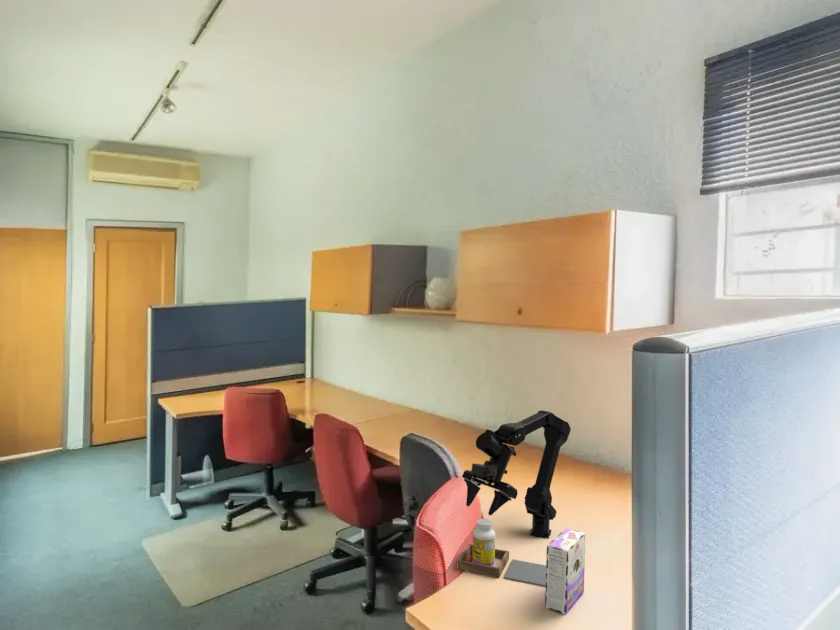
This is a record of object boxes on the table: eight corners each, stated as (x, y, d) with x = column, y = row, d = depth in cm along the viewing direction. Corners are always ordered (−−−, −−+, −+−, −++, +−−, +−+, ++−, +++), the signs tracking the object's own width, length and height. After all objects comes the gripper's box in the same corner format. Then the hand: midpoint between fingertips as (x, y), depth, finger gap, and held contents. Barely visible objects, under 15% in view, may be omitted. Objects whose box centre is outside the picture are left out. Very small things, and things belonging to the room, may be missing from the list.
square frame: (469, 551, 174) (469, 543, 174) (508, 559, 170) (509, 551, 170) (456, 569, 163) (456, 560, 163) (499, 577, 158) (499, 569, 158)
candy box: (563, 586, 154) (565, 527, 154) (584, 593, 151) (586, 532, 150) (544, 607, 143) (545, 544, 142) (566, 615, 139) (568, 550, 139)
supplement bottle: (468, 561, 168) (469, 518, 168) (488, 557, 170) (489, 516, 170) (478, 571, 162) (479, 527, 162) (498, 567, 164) (499, 524, 164)
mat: (512, 560, 169) (512, 559, 169) (552, 568, 165) (552, 566, 165) (503, 578, 158) (503, 576, 158) (546, 587, 153) (546, 585, 153)
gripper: (462, 445, 177) (441, 492, 172) (506, 459, 163) (485, 510, 158) (482, 460, 184) (462, 505, 178) (526, 474, 169) (507, 523, 164)
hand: (478, 510), depth 169 cm, fingers open, 9 cm apart
